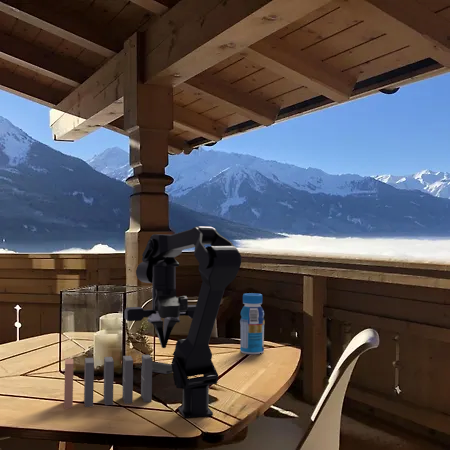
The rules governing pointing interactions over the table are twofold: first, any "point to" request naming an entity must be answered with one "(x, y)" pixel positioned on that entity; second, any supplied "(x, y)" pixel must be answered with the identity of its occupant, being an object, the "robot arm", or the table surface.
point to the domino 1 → (68, 384)
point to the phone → (161, 367)
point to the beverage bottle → (252, 324)
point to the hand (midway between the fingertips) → (163, 347)
